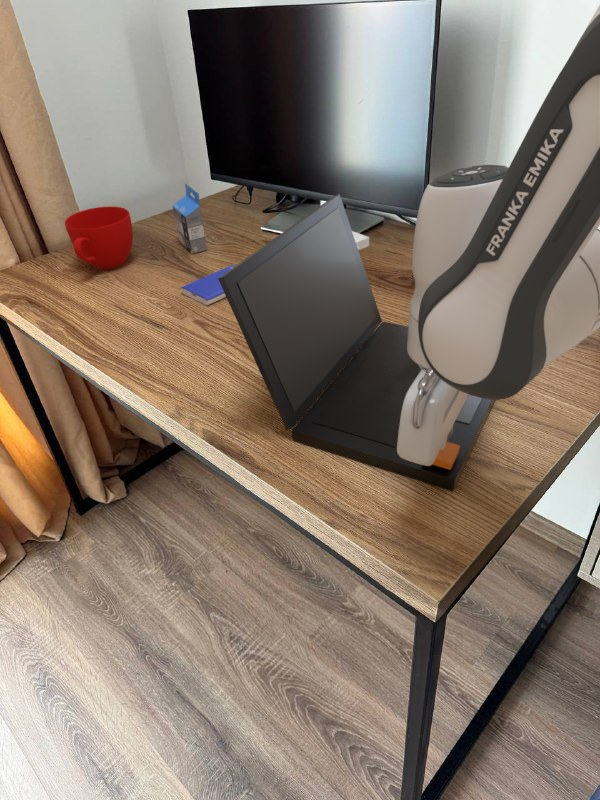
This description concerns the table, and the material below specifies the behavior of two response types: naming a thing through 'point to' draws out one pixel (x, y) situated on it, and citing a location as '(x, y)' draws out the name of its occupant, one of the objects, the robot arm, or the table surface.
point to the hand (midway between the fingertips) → (440, 441)
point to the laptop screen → (303, 307)
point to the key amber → (447, 456)
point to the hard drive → (206, 288)
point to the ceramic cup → (101, 236)
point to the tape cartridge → (190, 222)
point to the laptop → (383, 411)
